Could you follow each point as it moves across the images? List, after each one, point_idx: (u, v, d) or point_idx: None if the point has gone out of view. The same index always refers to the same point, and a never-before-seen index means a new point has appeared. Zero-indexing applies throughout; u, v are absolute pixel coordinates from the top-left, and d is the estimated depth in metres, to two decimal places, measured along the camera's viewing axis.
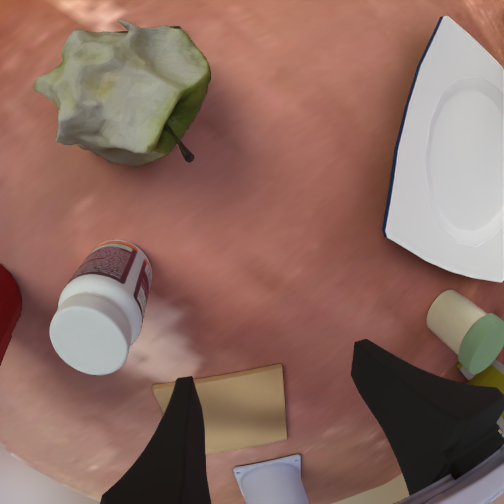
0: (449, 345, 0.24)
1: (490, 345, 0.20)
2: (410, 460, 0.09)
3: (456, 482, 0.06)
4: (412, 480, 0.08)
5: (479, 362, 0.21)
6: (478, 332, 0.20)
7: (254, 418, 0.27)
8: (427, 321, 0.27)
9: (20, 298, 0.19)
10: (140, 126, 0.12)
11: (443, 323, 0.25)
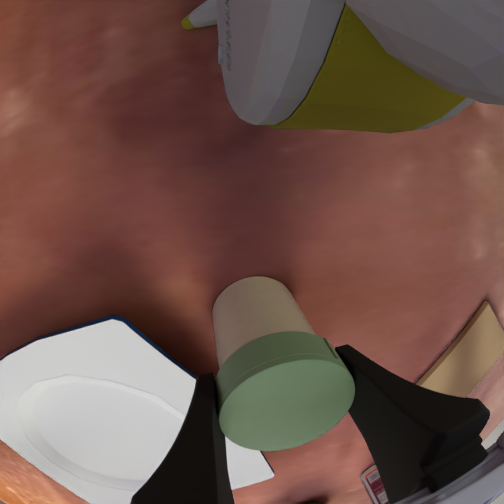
0: None
1: (284, 422, 0.11)
2: (389, 470, 0.08)
3: (456, 482, 0.06)
4: (391, 490, 0.08)
5: (327, 404, 0.11)
6: None
7: (464, 357, 0.23)
8: None
9: None
10: None
11: None
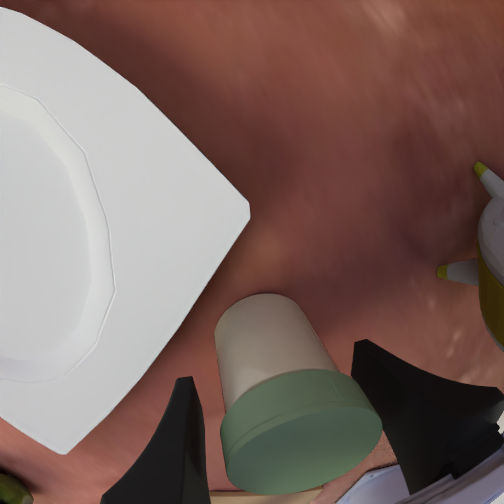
0: None
1: (307, 467, 0.09)
2: (410, 460, 0.09)
3: (456, 482, 0.06)
4: (412, 480, 0.08)
5: (349, 440, 0.09)
6: None
7: None
8: None
9: None
10: None
11: None
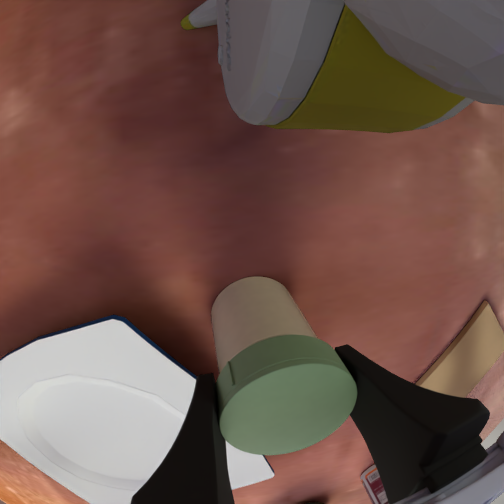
0: None
1: (304, 417, 0.11)
2: (388, 470, 0.08)
3: (456, 482, 0.06)
4: (391, 490, 0.08)
5: (293, 390, 0.10)
6: None
7: (463, 357, 0.23)
8: None
9: None
10: None
11: None
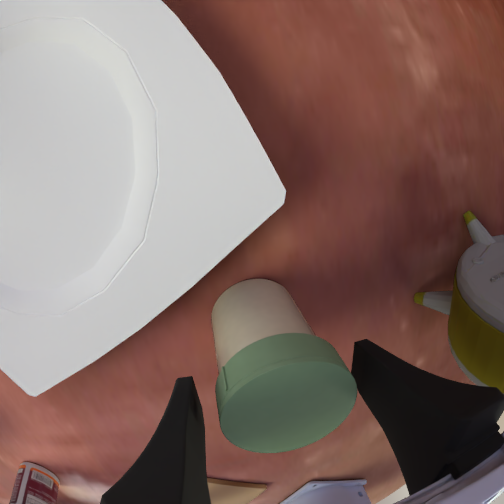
0: None
1: (305, 413, 0.11)
2: (410, 460, 0.09)
3: (456, 482, 0.06)
4: (412, 480, 0.08)
5: (287, 390, 0.10)
6: None
7: None
8: None
9: None
10: None
11: None
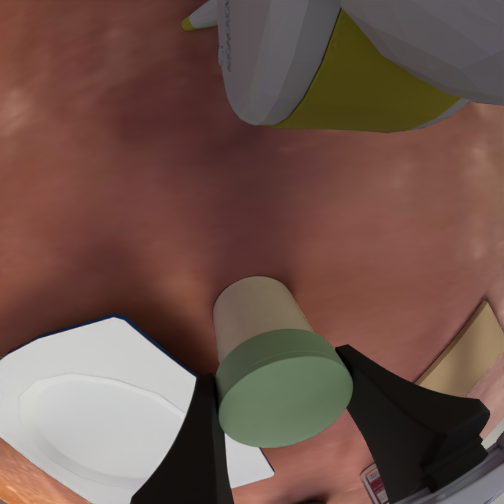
0: (306, 321, 0.14)
1: (294, 399, 0.11)
2: (389, 470, 0.08)
3: (456, 482, 0.06)
4: (391, 490, 0.08)
5: (250, 416, 0.11)
6: (287, 343, 0.11)
7: (463, 356, 0.23)
8: (290, 293, 0.18)
9: None
10: None
11: None
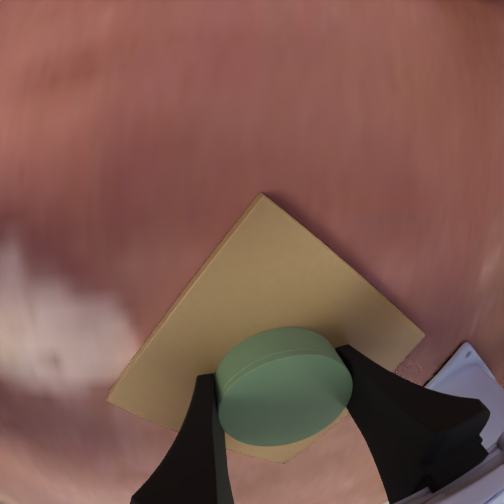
0: None
1: (275, 407, 0.11)
2: (389, 470, 0.08)
3: (456, 482, 0.06)
4: (391, 490, 0.08)
5: (286, 430, 0.12)
6: None
7: None
8: None
9: None
10: None
11: None
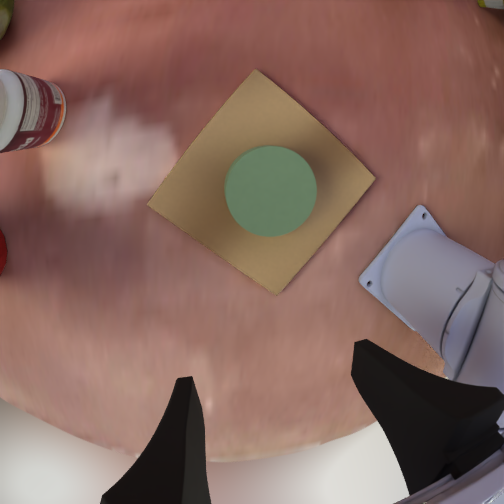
0: None
1: (263, 189, 0.18)
2: (410, 460, 0.09)
3: (456, 482, 0.06)
4: (412, 480, 0.08)
5: (272, 217, 0.19)
6: None
7: None
8: None
9: None
10: None
11: None
